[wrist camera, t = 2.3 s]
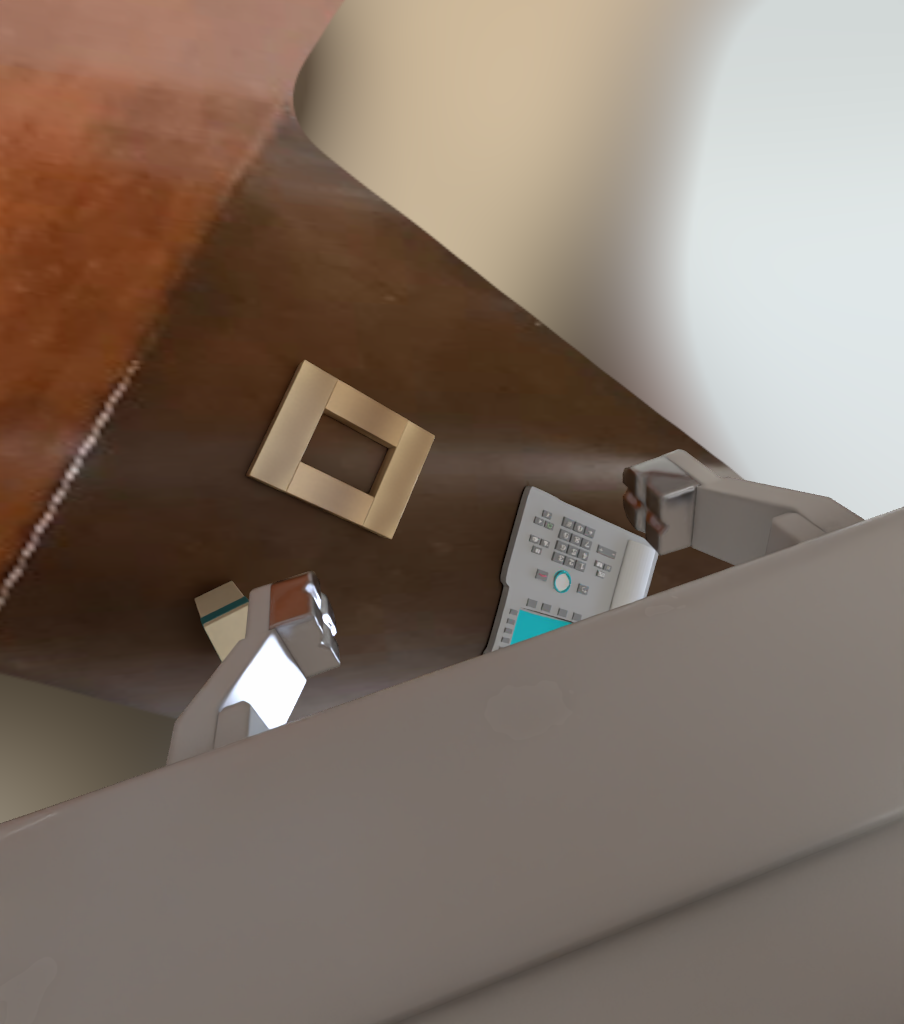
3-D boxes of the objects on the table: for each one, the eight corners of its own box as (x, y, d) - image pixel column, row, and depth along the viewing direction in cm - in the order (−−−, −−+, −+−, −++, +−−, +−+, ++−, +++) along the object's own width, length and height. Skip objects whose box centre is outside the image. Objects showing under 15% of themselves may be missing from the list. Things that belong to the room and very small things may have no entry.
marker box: (193, 598, 44) (202, 626, 35) (232, 579, 45) (250, 602, 36) (223, 655, 45) (239, 696, 36) (260, 635, 46) (284, 670, 38)
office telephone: (669, 545, 69) (630, 697, 66) (653, 543, 71) (614, 690, 69) (539, 485, 57) (486, 666, 55) (524, 485, 60) (472, 658, 57)
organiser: (245, 475, 45) (249, 475, 44) (299, 364, 47) (304, 359, 45) (384, 537, 52) (391, 539, 50) (426, 437, 54) (435, 435, 52)
